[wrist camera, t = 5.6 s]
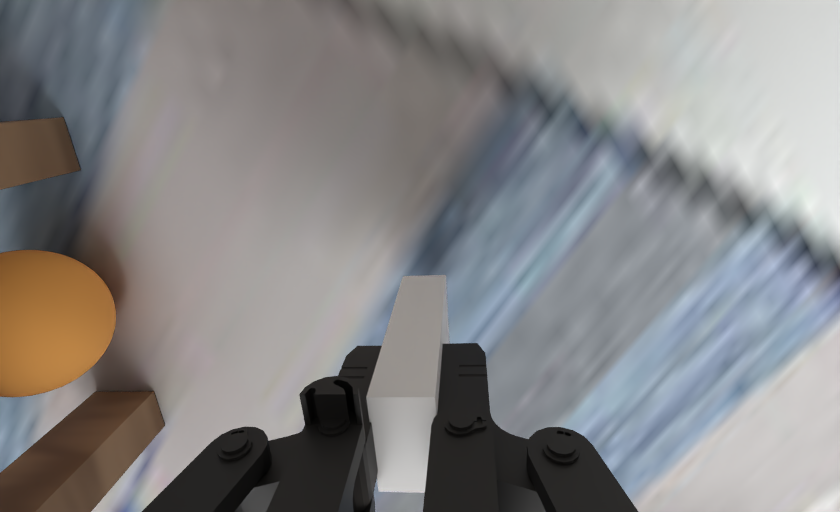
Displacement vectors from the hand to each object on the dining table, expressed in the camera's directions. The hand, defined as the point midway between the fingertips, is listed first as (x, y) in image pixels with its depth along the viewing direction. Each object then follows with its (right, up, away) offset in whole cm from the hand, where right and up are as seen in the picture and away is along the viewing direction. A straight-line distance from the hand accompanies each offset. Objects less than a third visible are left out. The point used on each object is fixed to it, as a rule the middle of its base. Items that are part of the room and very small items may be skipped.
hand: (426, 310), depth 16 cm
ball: (-15, -1, +1) cm, 15 cm away
